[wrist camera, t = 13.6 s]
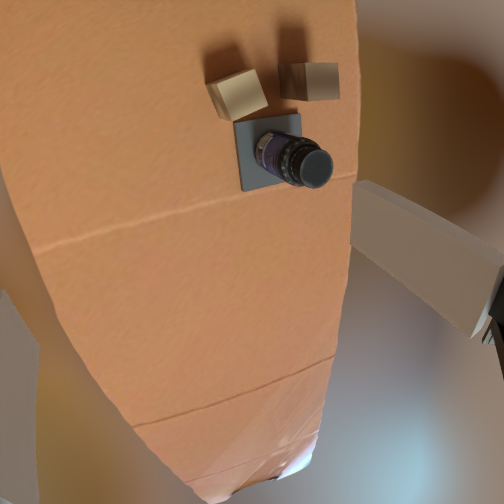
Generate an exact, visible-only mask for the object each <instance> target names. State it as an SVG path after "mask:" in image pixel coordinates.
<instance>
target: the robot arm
mask: <svg viewBox="0 0 504 504" xmlns="http://www.w3.org/2000/svg"><path fill="white" fill-rule="evenodd" d="M350 244H351V245H352V246H353V247H355V248H356V249H357V250H359V251H360V252H361V253H363V254H364V255H365V256H367V257H368V258H370V259H371V260H372V261H373V262H375V263H376V264H377V265H379V266H380V267H381V268H383V269H384V270H385V271H387V272H388V273H389V274H391V275H392V276H393V277H394V278H396V279H397V280H398V281H400V282H401V283H402V284H403V285H405V286H406V287H407V288H409V289H410V290H411V291H412V292H413V293H415V294H416V295H417V296H418V297H420V298H421V299H422V300H424V301H425V302H426V303H427V304H428V305H430V306H431V307H432V308H433V309H435V310H436V311H437V312H438V313H439V314H441V315H442V316H443V317H444V318H445V319H447V320H448V321H449V322H450V323H451V324H453V325H454V326H455V327H456V328H457V329H458V330H460V331H461V332H462V333H463V334H464V335H466V336H467V337H468V338H469V339H471V338H472V337H473V336H474V335H475V334H476V333H477V332H478V331H479V330H480V329H481V328H482V326H483V324H484V322H485V320H486V318H487V316H488V314H489V315H490V316H491V317H492V320H491V322H490V324H489V326H488V328H487V330H486V332H485V334H484V336H483V338H482V344H485V343H486V341H487V339H488V337H489V335H490V334H492V336H491V338H490V340H489V343H488V344H495V346H496V350H497V353H498V357H499V361H500V366H501V370H502V374H503V379H504V254H503V253H501V252H499V251H498V250H496V249H495V248H493V247H492V246H490V245H488V244H487V243H485V242H483V241H482V240H480V239H479V238H477V237H475V236H474V235H472V234H470V233H468V232H467V231H465V230H463V229H461V228H460V227H458V226H456V225H455V224H453V223H451V222H449V221H448V220H446V219H444V218H442V217H440V216H438V215H437V214H435V213H433V212H431V211H429V210H427V209H425V208H423V207H422V206H420V205H418V204H416V203H414V202H412V201H410V200H408V199H406V198H404V197H402V196H400V195H398V194H396V193H394V192H392V191H390V190H388V189H386V188H384V187H382V186H379V185H377V184H375V183H373V182H371V181H368V180H364V181H360V182H356V183H353V192H352V217H351V235H350ZM40 349H41V347H40V345H39V344H38V342H37V341H36V339H35V338H34V336H33V335H32V333H31V332H30V330H29V329H28V327H27V326H26V324H25V323H24V321H23V319H22V318H21V316H20V314H19V313H18V311H17V309H16V308H15V306H14V304H13V303H12V301H11V299H10V298H9V296H8V294H7V292H6V291H5V289H3V290H0V504H40V500H39V491H38V482H37V467H36V443H35V419H36V393H37V379H38V378H37V377H38V368H39V357H40Z"/></svg>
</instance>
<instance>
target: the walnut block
mask: <svg viewBox="0 0 504 504" xmlns="http://www.w3.org/2000/svg"><path fill="white" fill-rule="evenodd" d="M278 72H279V82H280V92H281V98H284V99H293V100H301V101H319V100H334V99H340V89H339V73H338V63H294V64H281V65H278Z"/></svg>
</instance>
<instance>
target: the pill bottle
mask: <svg viewBox="0 0 504 504" xmlns="http://www.w3.org/2000/svg"><path fill="white" fill-rule="evenodd" d="M254 155H255V159H256V162H257V164H258V165H259V166H260V167H261V168H263V169H264V170H266V171H267V172H269V173H271V174H273V175H275V176H276V177H278V178H280V179H282V180H284V181H285V182H287V183H289V184H291V185H293V186H306V187H308V188H312V189H315V188H320V187H322V186H323V185H325V184H326V183H327V182H328V180H329V179H330V177H331V175H332V172H333V161H332V158H331V156H330V155H329V154H328V153H327V152H326V151H324V150H322V149H321V148H320V147H319V146H318V144H317V143H316V142H314V141H312V140H310V139H308V138H304V137H301V136H297V135H294V134H291V133H287V132H283V131H280V130H273V131H268V132H266V133H265V134H263V135H262V136H261V137H260V138H259V140H258V141H257V143H256V145H255V151H254Z"/></svg>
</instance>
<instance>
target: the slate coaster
mask: <svg viewBox="0 0 504 504" xmlns="http://www.w3.org/2000/svg"><path fill="white" fill-rule="evenodd" d="M233 126H234V134H235V142H236V150H237V158H238V166H239V174H240V182H241V190H242V191H243V192H246V191H250V190H254V189H258V188H262V187H266V186H270V185H274V184H279V183H283V182H285V181H284V180H282V179H280V178H278V177H276V176H275V175H273V174H271V173H269V172H267V171H266V170H264V169H263V168H261V167H260V166H259V165H258V164H257V162H256V159H255V155H254V151H255V145H256V143H257V141H258V140H259V138H260V137H261V136H262V135H263V134H265V133H266V132H268V131H273V130H280V131H283V132H287V133H291V134H294V135H297V136H301V137H302V128H301V114H300V113H294V114H286V115H278V116H271V117H264V118H258V119H251V120H245V121H239V122H234V123H233Z"/></svg>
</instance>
